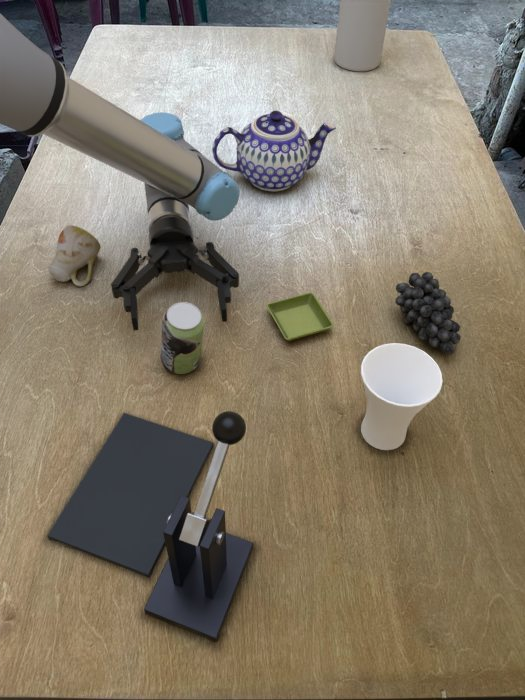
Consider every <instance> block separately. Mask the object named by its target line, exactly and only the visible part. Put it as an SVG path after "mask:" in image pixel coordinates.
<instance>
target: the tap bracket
mask: <svg viewBox="0 0 525 700" xmlns="http://www.w3.org/2000/svg"><path fill="white" fill-rule="evenodd" d="M187 513H192V505H191V498H190V497H188V498H187V497H185V496H182V495H181V497H180V499H179V501H178V503H177V505H176V507H175V509H174V511H173V513H171V514H170V515H169V517H168V520H167V525H166V527H165V529H164V531H163V535H164V539H165V548H166V554H167V560H166V561H165V563H164V566H163V568H162V571H161V572H160V574H159V576H158V578H157V581H156V583H155V585H154V587H153V589H152V592H151V593H150V595H149V598H148V599H147V602H146V604H145V606H144V608H143V612H144V613H145V615H147V616H150V617H153V618H155V619H157V620H159V621H162V622H165V623H168V624H170V625H172V626H175V627H177V628H179V629H182V630H185V631H187V632H190V633H193V634H195V635H197V636H200V637H202V638H205V639H206V640H207V639H208V640H210V641H213V642H215V643H217V642H218V639H219V636H220V634H221V631H222V629H223V627H224V624H225V621H226V618H227V616H228V613H229V612H230V609H231V606H232V603H233V600H234V598H235V595H236V593H237V591H238V588H239V585H240V583H241V580H242V578H243V575H244V572H245V570H246V567H247V565H248V562H249V560H250V557H251V555H252V551H253V549H254V542H253V541H250V540H247V539H245V538H242V537H239V536H236V535H233V534H231V533H228V532H227V529H226V528H227V526H226V525H227V524H226V510H223V509H221V508H219V507H216V508H215V510H214V512H213V515H212V517H211V521H210V523H209V526H208V528H207V530H206V532H205V535H204V537H203V539H202V541H201V543H200V546H198V547H197V546H195V545H192V544H189V543H186V542H184V541H181V540H179V536H180V533H181V530H182V527H183V524H184V521H185V519H186V516H187Z"/></svg>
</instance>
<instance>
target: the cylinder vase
mask: <svg viewBox="0 0 525 700" xmlns="http://www.w3.org/2000/svg"><path fill="white" fill-rule="evenodd" d="M391 3H392V0H340V2H339V10H338V20H337V27H336V34H335V35H336V37H335V45H334V53H333V60H334V62H335V63H336V65H338V66H339V67H340V68H342V69H344V70H348V71H351V72H369V71H372V70H374V69H376V68H377V67H379V65H380V64H381V60H382V55H383V51H384V50H383V49H384V45H385V44H384V43H385V37H386V32H387V26H388V20H389V15H390V9H391Z"/></svg>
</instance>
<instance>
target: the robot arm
mask: <svg viewBox="0 0 525 700" xmlns="http://www.w3.org/2000/svg"><path fill="white" fill-rule="evenodd" d="M0 125H2V126H5V127H7V128H9V129H11V130H14V131H16V132H18V133H20V134H22V135H24V136H26V137H38V136H41V135H45V136H46V137H48V138H50V139H52V140H55V141H56V142H58V143H61V144H63V145H65V146H67V147H69V148H71V149H73V150H75V151H77V152H80V153H82V154H83V155H85V156H88V157H90V158H92V159H94V160H96V161H98V162H100V163H102V164H104V165H106V166H108V167H111V168H113V169H115V170H117V171H119V172H121V173H123V174H125V175H127V176H130V177H132V178H133V179H136V180H138V181H139V182H142V183H143V184H144V192H145V200H146V208H147V210H146V211H147V226H148V240H149V249H148V250H147V251H139V248H138V247H132V248H131V249H130V253H129V254H130V255H129V257H128V259H127V260H126V262H125V263H124V264H123V266H122V268H121V269H120V270H119V272H118V274H117V275H116V276H115V278H114V279H113V281H112V282H111V283H110V287H111V293H112V296H113V298H114V299H120V298H122V299H123V309H124V312H125V313H130V319H131V325H132V330H133V331H136V332H137V331H139V311H138V310H139V309H138V298H137V294H139V293H140V292H141V291H142V290H143V289H144V288H145V287H146V286H147V285H149V283H151V282H152V281H153V280H154V279H155V278H156V279H158V278H159V277H160V275H161V274H163V273H165V274H172V273H175V272H176V273H185V271H187V272H189V273H190V274H192V275H197V276H198V277H200V278H201V279H203V280H204V281H206V282H208V283H209V284H211V285H212V286H214V287H216V290H217V291H216V293H217V299H218V304H219V311H220V317H221V322H222V323H226V322H228V308H227V304H231V302H232V292H231V291H232V290H231V288H234V289H236V288H239V287H240V273H239V272H238V271H237V269H235V268H234V267H233V266H232V264H230V263H229V262H228V261H227V260H226V259H225V258H224V257H223V256H222V255H221V253H219V252H218V251H217V250H216V248H215V246H214V243H213V242H212V241H207V242H206V243H205V246H199V247H198V246H197V245H196V244H195V240H194V233H193V226H192V225H193V224H192V219H191V213H190V208H189V207H191V208H193V209H195V212H196V213H197V214H198V215H201V216H202V217H204V218H205V219H207V220H209V221H212V222H215V221H220V220H223V219H225V218H226V217H228V216H229V215H230V214H231V213H233V211H234V209H235V208H236V206H237V205H238V202H239V200H240V187H239V185H238V183H237V182H236V180H235V179H233V178H232V177H231V176H230V174H229V173H228V172H226V171H224V170H223V169H221V168H220V166H218V165H216V164H215V163H214V162H212V161H211V160H210V159H208V157H206V156H204V155H203V153H201V152H200V151H199V150H198V149H197V148H195V147H194V146H193V145H192V144H190V143H189V142H188V141H186V139H185V137H184V136H185V131H184V127H183V122H182V120H181V119H180V118H179V117H178V116H177V115H175V114H173V113H171V112H170V113H169V112H162V111H161V112H160V111H159V112H153V113H150V114H147V115H145V116H144V117H142V118H141V119H140V118H138V117H136V116H135V115H133V114H131V113H129V112H127V111H126V110H124V109H123V108H121V107H119V106H117V105H116V104H114V103H112V102H111V101H109V100H108V99H106V98H104V97H102V96H101V95H99V94H97V93H96V92H94V91H93V90H91V89H89V88H88V87H86V86H84V85H82V84H81V83H79V82H77V81H76V80H74V79H72V78H71V77H70V76H68V74H67V71H66V68H65V66H64V64H63V63H61V61H59V60H58V59H56V58H55V57H53V56H51V55H50V54H49V53H46V52H45V51H44V50H42V49H41V48H39V47H38V46H37V45H36V44H35V43H33V42H32V41H31V40H30V39H29V38H28V37H26V36H25V35H24V34H23V33H22V32H20V30H18V29H17V28H16V27H15V26H14V25H13V24H12V23H11V22H10V21H9V20H8V19H7V18H6V17H5V16H4V15H3V14H2V13H0ZM200 257H202V258H203V259H204V260H202V259H201V258H200ZM145 261H147V263H145ZM205 261H207V262H208V263H207V262H205ZM144 263H145V265H144V266H143V264H144ZM141 266H143V267H142V268H140V267H141Z"/></svg>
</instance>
